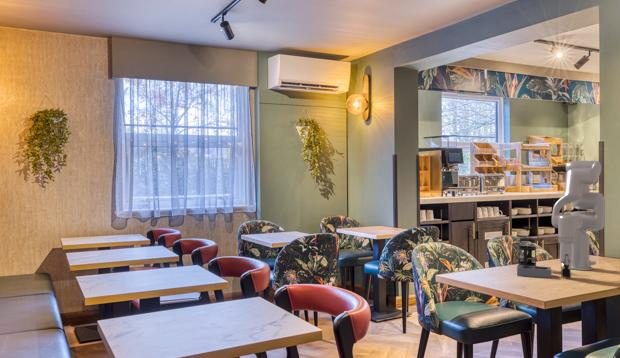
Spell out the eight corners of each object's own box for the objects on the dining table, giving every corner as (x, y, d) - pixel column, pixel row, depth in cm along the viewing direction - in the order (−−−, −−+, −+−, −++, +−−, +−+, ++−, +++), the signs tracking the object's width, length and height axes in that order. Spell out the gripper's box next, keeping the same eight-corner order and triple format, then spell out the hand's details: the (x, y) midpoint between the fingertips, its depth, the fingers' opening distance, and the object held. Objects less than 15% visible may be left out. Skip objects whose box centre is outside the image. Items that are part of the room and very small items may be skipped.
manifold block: (550, 274, 270) (550, 267, 270) (551, 278, 261) (551, 270, 261) (517, 272, 276) (517, 264, 276) (517, 275, 267) (517, 267, 267)
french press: (533, 271, 280) (534, 228, 280) (515, 269, 286) (516, 227, 285) (539, 267, 289) (539, 226, 289) (521, 266, 295) (521, 225, 295)
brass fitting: (566, 276, 265) (566, 261, 265) (572, 278, 260) (572, 262, 260) (559, 277, 263) (559, 261, 263) (565, 279, 259) (565, 262, 259)
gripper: (557, 237, 271) (557, 272, 271) (558, 241, 255) (558, 278, 256) (573, 238, 268) (573, 273, 268) (575, 242, 252) (575, 279, 253)
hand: (565, 275), depth 262 cm, fingers closed on brass fitting, 4 cm apart
